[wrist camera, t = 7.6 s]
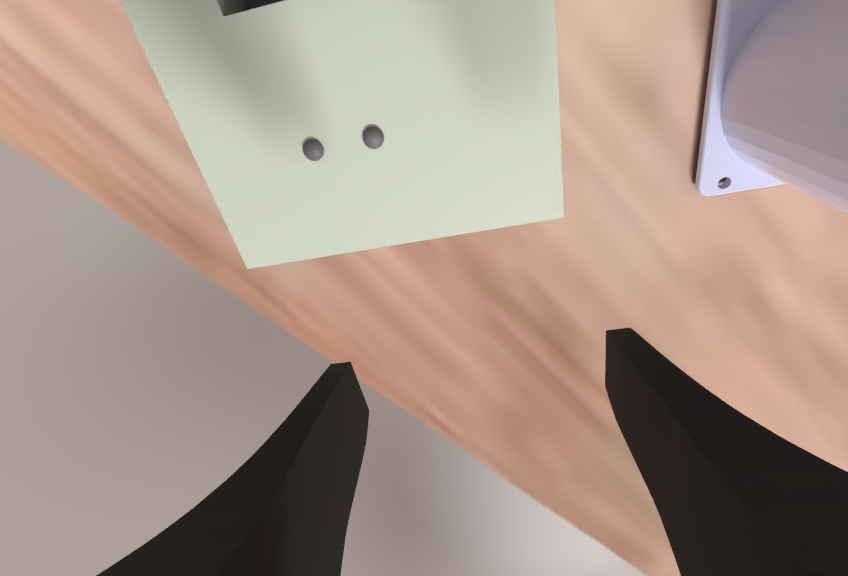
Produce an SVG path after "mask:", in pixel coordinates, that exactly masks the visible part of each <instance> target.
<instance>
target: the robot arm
mask: <svg viewBox="0 0 848 576" xmlns="http://www.w3.org/2000/svg"><path fill="white" fill-rule="evenodd" d="M724 177H726V181H725V183H724V184H722V185H720V186H718V182H719V181H720V180H721V179H722V178H724ZM780 184H788V185H790V186H792V187H794V188H797V189H799V190H801V191H803V192H805V193H807V194H809V195H811V196H813V197H815V198H817V199H819V200H821V201H823V202H825V203H827V204H829V205H831V206H833V207H835V208H838V209H840V210H842V211H844V212H846V213H848V0H717V8H716V16H715V25H714V33H713V41H712V49H711V58H710V66H709V74H708V82H707V91H706V99H705V107H704V115H703V124H702V132H701V140H700V148H699V157H698V165H697V173H696V181H695V189H696V190H697V192H699V193H700V194H702V195H704V196H713V195H719V194H725V193H731V192H737V191H744V190H750V189H756V188H762V187H768V186H774V185H780ZM605 387H606V390H607V393H608V396H609V400H610V403H611V406H612V409H613V412H614V415H615V418H616V421H617V423H618V425H619V427H620V429H621V432H622V434H623V436H624V438H625V440H626V442H627V445H628V447H629V449H630V451H631V453H632V455H633V457H634V460H635V462H636V464H637V466H638V468H639V470H640V472H641V474H642V477H643V479H644V481H645V483H646V485H647V487H648V489H649V492H650V494H651V496H652V498H653V500H654V503H655V505H656V507H657V510H658V512H659V515H660V517H661V520H662V523H663V525H664V528H665V531H666V534H667V537H668V539H669V542H670V545H671V548H672V550H673V553H674V556H675V559H676V562H677V565H678V568H679V571H680V574H681V576H848V472H846V471H844V470H842V469H840V468H838V467H836V466H834V465H832V464H830V463H828V462H826V461H824V460H822V459H821V458H819V457H817V456H815V455H813V454H811V453H809V452H807V451H805V450H804V449H802V448H800V447H798V446H796V445H794V444H792V443H791V442H789V441H787V440H785V439H783V438H782V437H780V436H778V435H776V434H775V433H773V432H771V431H770V430H768V429H766V428H765V427H763V426H761V425H760V424H758V423H756V422H755V421H753V420H751V419H750V418H748V417H747V416H745V415H743V414H742V413H740V412H739V411H737V410H736V409H734V408H733V407H731V406H730V405H728V404H727V403H725V402H724V401H722V400H721V399H720V398H718V397H717V396H715V395H714V394H712V393H711V392H710V391H708V390H707V389H706V388H704V387H703V386H701V385H700V384H699V383H697V382H696V381H695V380H694V379H692V378H691V377H690V376H688V375H687V374H686V373H685V372H683V371H682V370H681V369H679V368H678V367H677V366H676V365H674V364H673V363H672V362H671V361H669V360H668V359H667V358H666V357H665V356H663V355H662V354H661V353H660V352H659V351H657V350H656V349H655V348H654V347H653V346H651V345H650V344H649V343H648V342H647V341H646V340H644V339H643V338H642V337H641V336H640V335H639V334H637V333H636V332H635V331H634V330H632V329H631V328H624V329H616V330H607V331H606V372H605ZM368 418H369V409H368V407H367V404H366V401H365V398H364V396H363V393H362V391H361V388H360V385H359V383H358V380H357V378H356V375H355V372H354V370H353V367H352V365H351V362H345V363H337V364H331V365H330V366H329V367H328V368H327V370H326V371H325V372H324V373H323V374H322V376H321V377H320V378H319V379H318V381H317V382H316V383H315V384H314V386H313V387H312V388H311V389H310V391H309V392H308V393H307V394H306V396H305V397H304V398H303V399H302V400H301V402H300V403H299V404H298V405H297V407H296V408H295V409H294V410H293V411H292V413H291V414H290V415H289V416H288V417H287V419H286V420H285V421H284V422H283V423H282V424H281V425H280V426H279V428H278V429H277V430H276V431H275V432H274V433H273V434H272V435H271V436H270V438H269V439H268V440H267V441H266V442H265V443H264V444H263V445H262V446H261V447H260V448H259V449H258V450H257V451H256V452H255V454H253V456H252V457H250V458H249V459H248V460H247V461H246V462H245V463H244V464H243V465H242V466H241V467H240V468H239V469H238V470H237V471H236V472H235V473H234V474H233V475H231V476H230V477H229V478H228V479H227V480H226V481H225V482H224V483H222V484H221V485H220V486H219V487H218V488H217V489H215V490H214V491H213V492H212V493H211V494H209V495H208V496H207V497H206V498H205V499H204V500H202V501H201V502H200V503H199V504H198V505H196V506H195V507H194V508H193V509H191V510H190V511H189V512H188V513H186V514H185V515H184V516H182V517H181V518H180V519H178V520H177V521H176V522H175V523H173V524H172V525H171V526H169V527H168V528H166V529H165V530H164V531H162V532H161V533H160V534H158V535H157V536H156V537H154V538H153V539H151V540H150V541H148V542H147V543H146V544H144V545H143V546H141V547H140V548H138V549H137V550H135V551H134V552H132V553H131V554H129V555H127V556H126V557H124V558H123V559H122V560H120V561H118V562H117V563H115V564H114V565H112V566H111V567H109V568H108V569H107V570H105V571H103V572H101V573H100V574H98V575H97V576H340V574H341V565H342V559H343V551H344V543H345V536H346V530H347V525H348V520H349V515H350V511H351V507H352V502H353V498H354V494H355V489H356V485H357V481H358V477H359V472H360V468H361V463H362V459H363V454H364V450H365V445H366V438H367V429H368Z"/></svg>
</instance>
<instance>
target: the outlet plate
mask: <svg viewBox="0 0 848 576" xmlns="http://www.w3.org/2000/svg"><path fill="white" fill-rule="evenodd" d="M120 2H121V4H122V6H123V8H124V10H125V12H126V15H127V17H128V19H129V21H130V23H131V25H132V27H133V29H134V31H135V34H136V36H137V38H138V40H139V42H140V44H141V46H142V48H143V50H144V52H145V55H146V57H147V59H148V61H149V63H150V65H151V67H152V69H153V71H154V73H155V76H156V78H157V80H158V82H159V84H160V86H161V88H162V90H163V92H164V94H165V97H166V99H167V101H168V103H169V105H170V107H171V109H172V111H173V113H174V116H175V118H176V120H177V122H178V124H179V126H180V128H181V130H182V132H183V134H184V137H185V139H186V141H187V143H188V145H189V147H190V149H191V151H192V153H193V155H194V158H195V160H196V162H197V164H198V166H199V168H200V170H201V172H202V174H203V176H204V179H205V181H206V183H207V185H208V187H209V189H210V191H211V193H212V195H213V198H214V200H215V202H216V204H217V206H218V208H219V210H220V212H221V214H222V216H223V219H224V221H225V223H226V225H227V227H228V229H229V231H230V233H231V235H232V237H233V240H234V242H235V244H236V246H237V248H238V250H239V252H240V254H241V256H242V258H243V261H244V263H245V265H246V267H247V269H251V268H257V267H263V266H269V265H276V264H282V263H288V262H294V261H300V260H306V259H312V258H318V257H325V256H331V255H337V254H343V253H349V252H355V251H361V250H367V249H374V248H380V247H386V246H392V245H398V244H404V243H410V242H416V241H423V240H429V239H435V238H441V237H447V236H453V235H459V234H465V233H472V232H478V231H484V230H490V229H496V228H502V227H508V226H514V225H521V224H527V223H533V222H539V221H545V220H551V219H557V218H563V217H564V211H563V186H562V162H561V138H560V113H559V89H558V65H557V40H556V16H555V0H120Z"/></svg>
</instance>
